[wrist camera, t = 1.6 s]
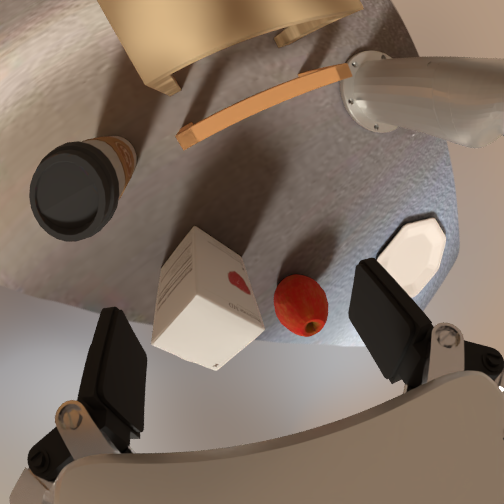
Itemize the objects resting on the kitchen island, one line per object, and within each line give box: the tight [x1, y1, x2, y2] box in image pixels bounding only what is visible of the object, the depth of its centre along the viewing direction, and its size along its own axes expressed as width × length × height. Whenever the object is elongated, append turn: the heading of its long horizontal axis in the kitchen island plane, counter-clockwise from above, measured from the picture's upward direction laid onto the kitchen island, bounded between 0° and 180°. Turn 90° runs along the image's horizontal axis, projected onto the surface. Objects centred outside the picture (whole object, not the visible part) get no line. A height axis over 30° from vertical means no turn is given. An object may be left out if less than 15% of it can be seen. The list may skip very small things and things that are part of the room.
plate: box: [376, 217, 446, 298], centre depth 49 cm, size 20×20×2 cm
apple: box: [274, 274, 328, 337], centre depth 41 cm, size 8×8×11 cm
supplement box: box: [151, 226, 265, 371], centre depth 33 cm, size 9×9×15 cm
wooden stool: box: [97, 0, 364, 96], centre depth 16 cm, size 16×12×17 cm
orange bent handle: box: [175, 63, 353, 150], centre depth 25 cm, size 18×2×10 cm, turn 115°
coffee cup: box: [29, 136, 137, 241], centre depth 23 cm, size 8×8×15 cm
